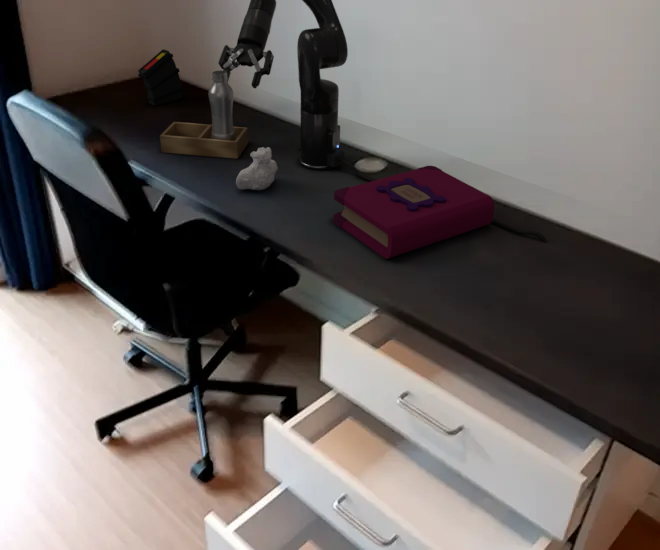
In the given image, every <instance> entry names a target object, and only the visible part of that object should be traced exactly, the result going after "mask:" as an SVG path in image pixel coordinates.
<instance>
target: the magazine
mask: <svg viewBox="0 0 660 550" xmlns="http://www.w3.org/2000/svg"><path fill="white" fill-rule="evenodd" d="M173 57H174V54H173V53H171V52H170V51H169V50H167V49H161V50H160V51H159V52H158V53H157V54H156V55H154V56H153V57H151V59H149V60H148V61H147V62H146V63H145V64H143V65H142V66H141V67H140V68H139V69H138V70H137V72H138V74H137V75H138V77H139V78H141V79H142V80H143V83H144V85H143V88H144V89H146V93H147V96H146V97H145V99H146V100H148V104H149V105H152V106H159V105H162V104H166V103H170V102H173V101H177V100H180V99H183V91H184V90H185V89H184V86H182V82H181V78H180V74H179V73H180V68H178V67H177V66H176V62H175V60H174V58H173Z"/></svg>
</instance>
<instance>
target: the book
mask: <svg viewBox="0 0 660 550" xmlns="http://www.w3.org/2000/svg"><path fill="white" fill-rule="evenodd" d="M333 201H336V202H337V203H339V204H340V205H341V206H343V210H342V211H339V212H335V213H334V214H333V216H332V217H333V218H332V221H333V224H334V225H336V227H338V228H340V229H342V230H344V231H346V232H347V233H348V234H350V235H351V236H353V237H354V238H355V239H357V240H358V241H360V242H361V243H362V244H364V245H365V246H367V247H368V248H369V249H371V250H372V251H374V252H375V253H377V254H378V255H379V256H381V257H382V258H384V259H386V260H387V259H391V258H395V257H397V256H400V255H403V254H406V253H410V252H412V251H415V250H417V249H422V248H425V247H427V246H429V245H433V244H435V243H439V242H442V241H445V240H447V239H450V238H454V237H456V236H459V235H462V234H466V233H468V232H471V231H474V230H477V229H480V228H483V227H485V226H488V225H491V224H492V219H493V218H494V215H495V214H494V213H495V201H494V199H493V198H492V196H491V195H488V194H487V193H485V192H483V191H481V190H479V189H478V188H475V187H474V186H472V185H470V184H468V183H466V182H464V181H462V180H460V179H458V178H456V177H455V176H453V175H451V174H449V173H447V172H445V171H443V169H441V168H439V167H437V166H435V165H425V166H421V167H418V168H416V169H413V170H409V171H405V172H401V173H398V174H397V173H396V174H394V175H390V176H387V177H383V178H379V179H378V180H375V181H371V182H370V181H367V182H364V183H361V184H355V185H353V186H346V187H342V188H339V189H336V190H334V191H333Z"/></svg>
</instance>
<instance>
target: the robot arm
mask: <svg viewBox="0 0 660 550" xmlns="http://www.w3.org/2000/svg"><path fill="white" fill-rule="evenodd" d="M301 1H302V2H303V4H305V5H306V6H307V7H308V9H309V10H310V11H311V13H312V15H313V16H314V18H315V20H316V23H317V25H318V27H314V28H306V29H303V30H301V31H300V33H299V35H298V38H297V47H296V48H297V49H296V51H297V52H296V53H297V69H298V70H297V71H298V84H299V88H300V131H299V132H300V139H299V140H300V144H299V145H300V146H299V147H298V152H299V156H300V158H299V164H300V165H301V166H303V167H305V168H307V169H311V170H333V169H334V168H336V167H338V166H341V165H345V166H346V167H348V168H349V169H351V170H352V172H353V173H354V174H355V175H356V176H358V177H359V178H361V179H362V180H364V181H367V182H371V181H375V180H379V179H377V178H373V177H370V176H367V175H365V174H363V173H362V172H360V171H359V170H358V169H357V167H356V166H355V165H353V164H352V163H351V162H349V161H347V160H345V155H346V154H345V153H346V152H345V151H344V150H341V147H340V145H341V125H340V124H339V97H340V95H339V94H340V93H339V92H340V90H339V89H340V88H339V85H338V84H337V83H336V82H334V81H332V80H328V79H326V78H321V77H322V76H321V70H325V69H332V68H339V67H342V66H343V65H345V64H346V62H347V60H348V57H349V56H348V55H349V54H348V53H349V52H348V51H349V50H348V42H347V38H346V36H345V35H346V34H345V31H344V29H343V26H342V23H341V20H340V19H339V16H338V13H337V10H336V8H335V5H334V2H333V0H301ZM276 9H277V0H250V1H249V4H248V8H247V11H246V14H245V16H244V18H243V20H242V25H241V27H240V31H239V35H238V36H237V41H236V45H235V46H234V47H230V46H229V45H228V44H225V45H224V46H223V48H222V51H221V53H220V57H219V59H218V63H217V64H218V66H219V67H220V68H221V70H222V71H226V72H227V78H228V80H227V83H228V84H229V80H230V77H231V74H232V73H231V71H233V70H234V69H237V68H238V67H240V66H242V67H246V66H247V67H249V68H252V67H254V69H255V72H254V74H253V77H252V80H251V84H250V85H251V87H252V89H257V88H258V87H259V86H260V84H261V81H262V77H263V76H264V75H266V76H269V75H270V74H271V71H272V67H273V62H274V58H275V56H274V54H273V51H272V50H270V49H267V51H265V49H266V46H267V42H268V39H269V36H270V33H271V28H272V22H273V19H274V15H275V12H276ZM262 59H264V63H263V66H262V67H261V65H260V63H259V62H260V61H261V60H262ZM492 223H493V224H494V225H496V226H498V227H501V228H503V229H506V230H508V231H510V232H513V233H516V234H519V235H524V236H526V235H527V236H535V237H536V238H538V239H540V240H541V242H542V243H545V244H548V240H547V238H546V237H545V236H544V235H543V234H542V233H541V232H539V231H536V230H529V229H521V228H517V227H514V226H512V225H509V224H508V223H505V222H502V221H500V220H498V219H496V218H494V217H493V219H492V222H491V224H492Z"/></svg>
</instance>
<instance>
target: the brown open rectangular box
mask: <svg viewBox="0 0 660 550" xmlns="http://www.w3.org/2000/svg"><path fill="white" fill-rule="evenodd" d="M233 127H234V131H235V136H236V140H235V141H230V140H218V139H211V133H212V124H207V123H205V124H204V123H195V122H182V121H172V123H171V124H170V125H169V126H168V127H166V129H165V130H164V131H163V132H162V133H161V134H160V135H159V140H160V141H159V142H160V151H161V153H166V154H168V153H170V154H178V155H189V156H190V155H191V156H201V157H203V156H204V157H212V158H225V159H237V160H238V159H239V158H240V156H241V155H242V153H243V152H244V150H245V149H246V147H247V146H248V145H249V132H248V131H249V130H248V129H249V128H248V127H245V126H233Z"/></svg>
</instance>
